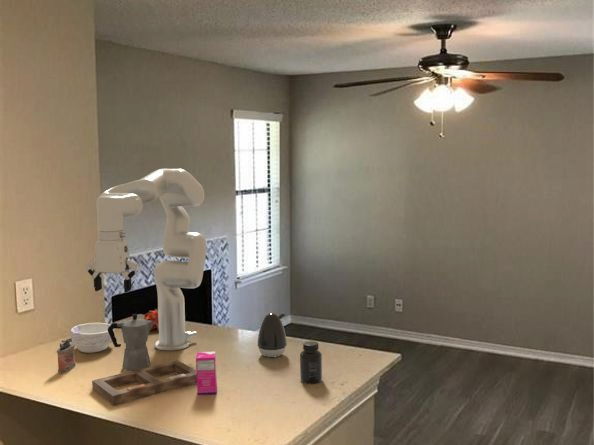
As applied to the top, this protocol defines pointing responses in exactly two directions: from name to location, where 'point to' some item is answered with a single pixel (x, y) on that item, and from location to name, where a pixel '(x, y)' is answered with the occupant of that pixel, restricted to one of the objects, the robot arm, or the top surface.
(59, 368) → the lighter
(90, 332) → the paper bowls
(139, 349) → the coffeepot
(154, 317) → the dragon fruit
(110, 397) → the wooden compartment tray
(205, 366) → the supplement box
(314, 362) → the supplement bottle
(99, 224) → the robot arm
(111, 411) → the top surface
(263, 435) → the top surface
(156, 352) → the top surface
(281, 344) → the dark grey tapered dome
